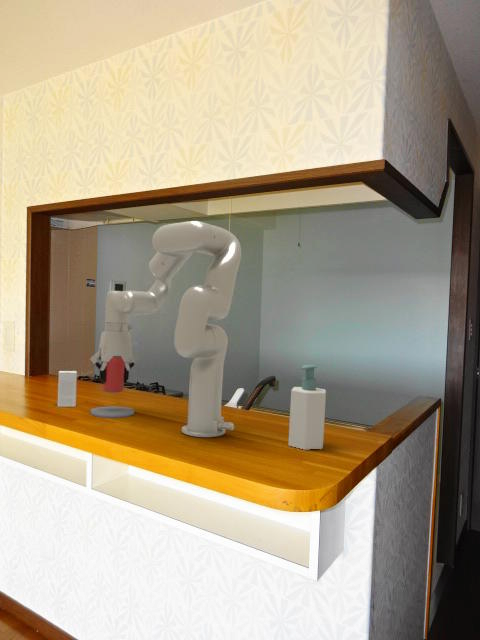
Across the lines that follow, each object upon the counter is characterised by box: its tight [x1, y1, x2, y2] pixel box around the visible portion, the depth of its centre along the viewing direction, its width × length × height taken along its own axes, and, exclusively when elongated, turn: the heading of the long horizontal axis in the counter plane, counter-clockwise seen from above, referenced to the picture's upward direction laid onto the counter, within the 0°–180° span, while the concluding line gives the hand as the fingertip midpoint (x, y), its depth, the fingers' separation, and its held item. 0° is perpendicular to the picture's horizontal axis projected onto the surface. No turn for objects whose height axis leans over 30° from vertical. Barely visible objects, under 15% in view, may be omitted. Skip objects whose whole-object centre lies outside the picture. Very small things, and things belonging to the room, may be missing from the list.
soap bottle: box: [287, 364, 327, 451], centre depth 135 cm, size 10×9×22 cm
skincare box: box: [57, 370, 78, 408], centre depth 172 cm, size 6×4×12 cm
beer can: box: [102, 356, 125, 394], centre depth 164 cm, size 7×7×12 cm
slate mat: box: [90, 405, 135, 419], centre depth 164 cm, size 14×14×1 cm
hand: (113, 381), depth 164 cm, fingers closed on beer can, 6 cm apart
